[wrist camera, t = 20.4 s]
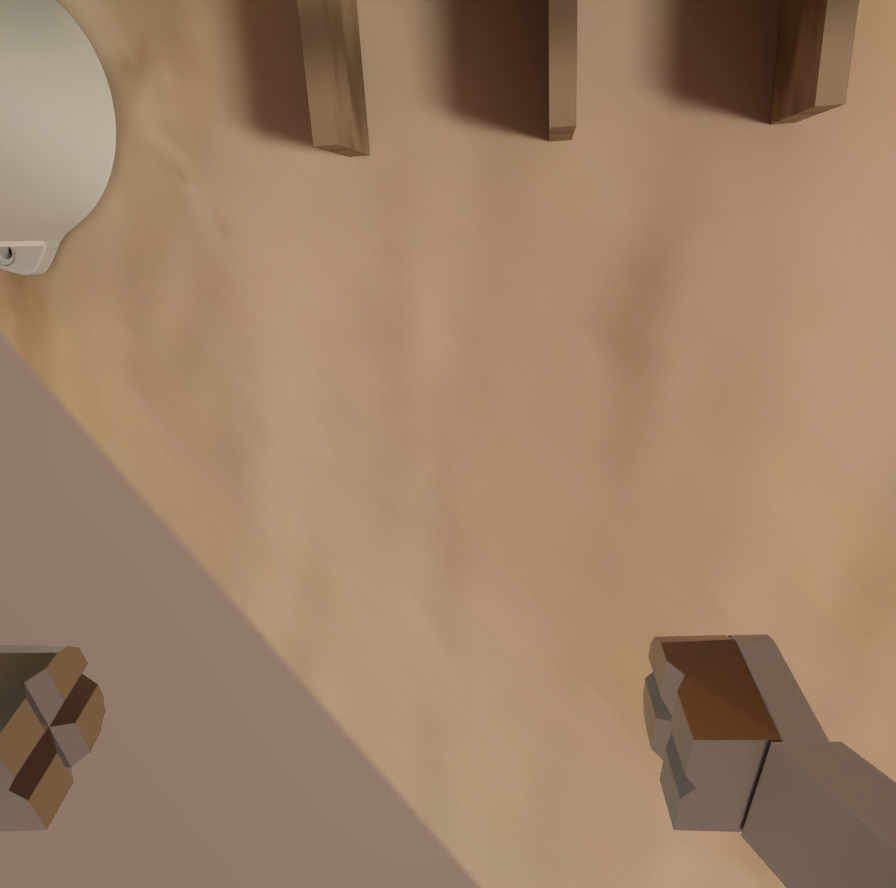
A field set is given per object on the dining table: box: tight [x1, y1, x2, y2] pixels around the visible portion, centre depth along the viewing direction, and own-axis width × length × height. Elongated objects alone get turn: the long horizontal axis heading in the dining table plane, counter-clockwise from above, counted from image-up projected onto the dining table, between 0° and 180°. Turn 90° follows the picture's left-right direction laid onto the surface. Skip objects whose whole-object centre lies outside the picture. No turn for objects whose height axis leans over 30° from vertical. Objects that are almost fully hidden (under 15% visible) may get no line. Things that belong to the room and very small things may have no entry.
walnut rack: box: [297, 0, 859, 157], centre depth 30 cm, size 10×24×6 cm, turn 93°
